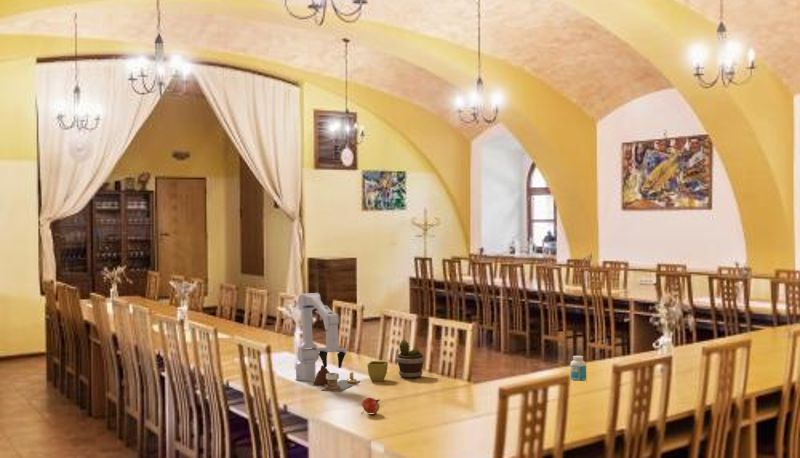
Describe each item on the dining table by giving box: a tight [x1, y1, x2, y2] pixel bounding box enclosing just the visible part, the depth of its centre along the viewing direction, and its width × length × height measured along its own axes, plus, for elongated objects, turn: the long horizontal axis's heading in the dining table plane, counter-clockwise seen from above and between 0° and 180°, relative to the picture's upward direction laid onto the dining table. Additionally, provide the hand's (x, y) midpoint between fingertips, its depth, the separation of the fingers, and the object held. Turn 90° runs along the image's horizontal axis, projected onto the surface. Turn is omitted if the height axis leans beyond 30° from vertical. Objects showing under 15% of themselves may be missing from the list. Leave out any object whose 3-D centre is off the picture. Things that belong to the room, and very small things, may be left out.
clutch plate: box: [326, 372, 340, 380], centre depth 382 cm, size 6×6×2 cm
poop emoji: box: [313, 365, 331, 387], centre depth 393 cm, size 10×8×9 cm
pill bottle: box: [569, 355, 587, 381], centre depth 385 cm, size 8×7×14 cm
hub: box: [346, 371, 357, 384], centre depth 393 cm, size 5×5×5 cm
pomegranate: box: [360, 397, 381, 416], centre depth 330 cm, size 7×7×10 cm
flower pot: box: [366, 360, 389, 382], centre depth 400 cm, size 9×9×9 cm
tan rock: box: [324, 379, 340, 389], centre depth 382 cm, size 7×7×6 cm
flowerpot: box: [395, 339, 426, 380], centre depth 407 cm, size 14×15×20 cm
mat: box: [321, 379, 361, 393], centre depth 388 cm, size 10×24×1 cm, turn 161°
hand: (332, 367), depth 382 cm, fingers open, 7 cm apart
